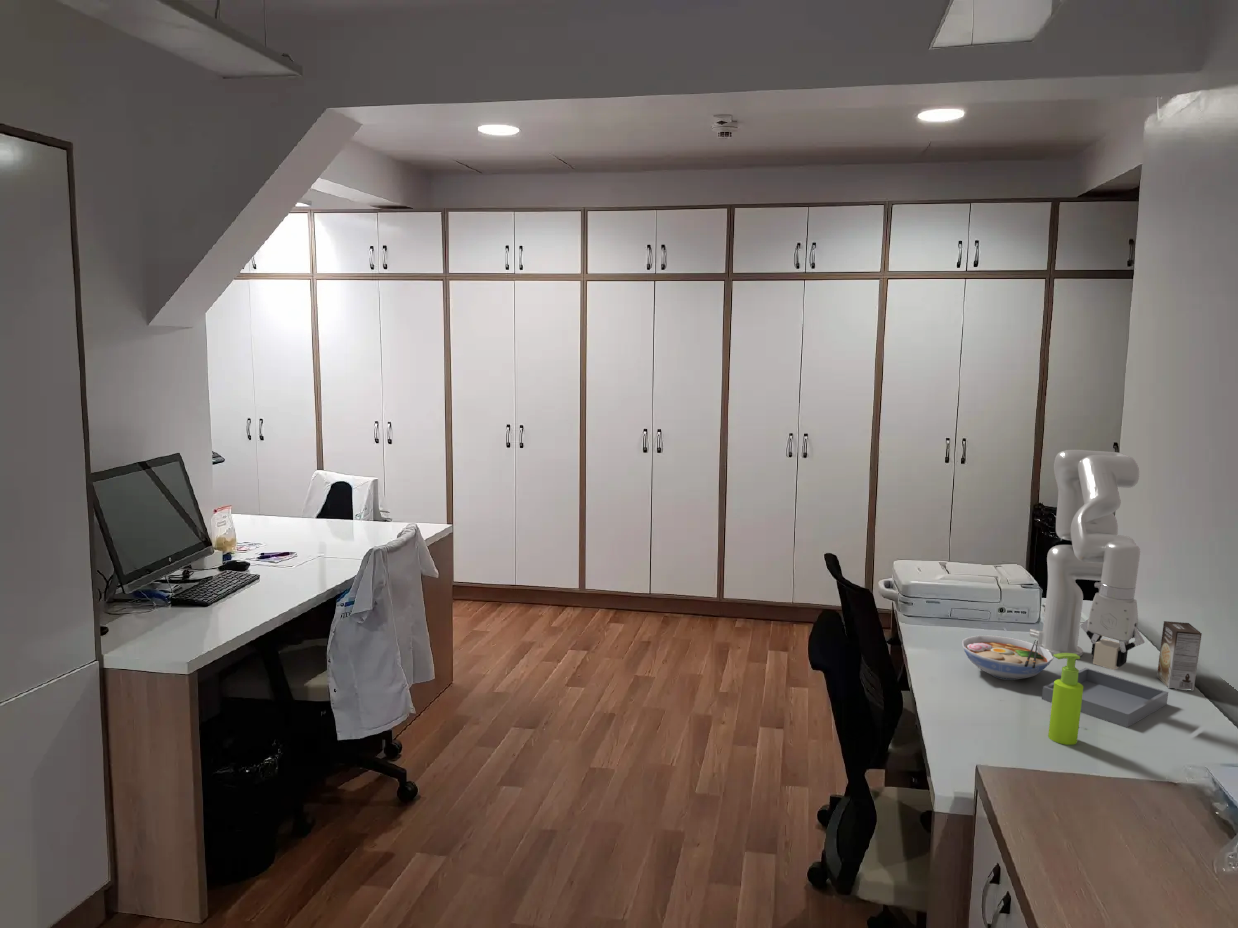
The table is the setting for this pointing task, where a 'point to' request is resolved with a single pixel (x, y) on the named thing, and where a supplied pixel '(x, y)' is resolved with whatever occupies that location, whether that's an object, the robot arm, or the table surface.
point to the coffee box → (1179, 655)
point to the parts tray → (1114, 697)
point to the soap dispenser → (1066, 703)
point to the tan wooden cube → (1106, 653)
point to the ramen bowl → (1006, 656)
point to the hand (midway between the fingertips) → (1108, 661)
